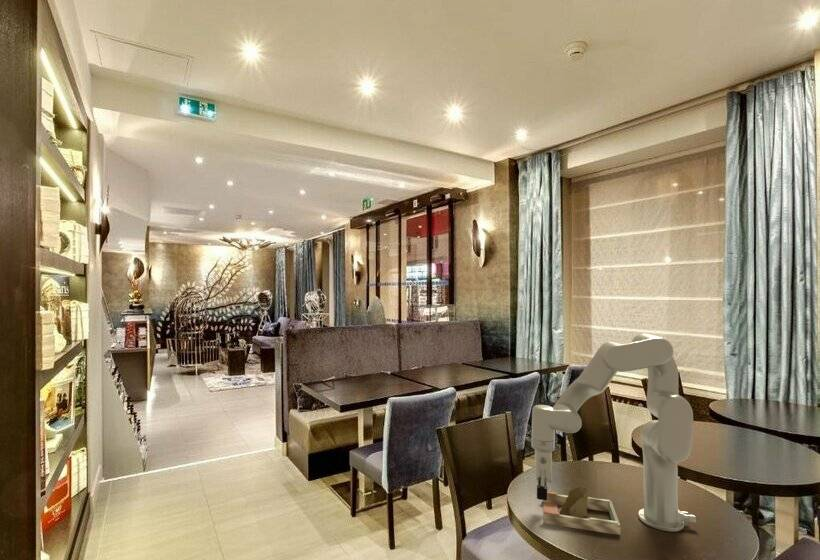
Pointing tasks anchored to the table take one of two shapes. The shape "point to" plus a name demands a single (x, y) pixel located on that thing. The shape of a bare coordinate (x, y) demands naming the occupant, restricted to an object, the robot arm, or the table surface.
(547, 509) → the pads
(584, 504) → the rock
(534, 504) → the table surface
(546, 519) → the box
